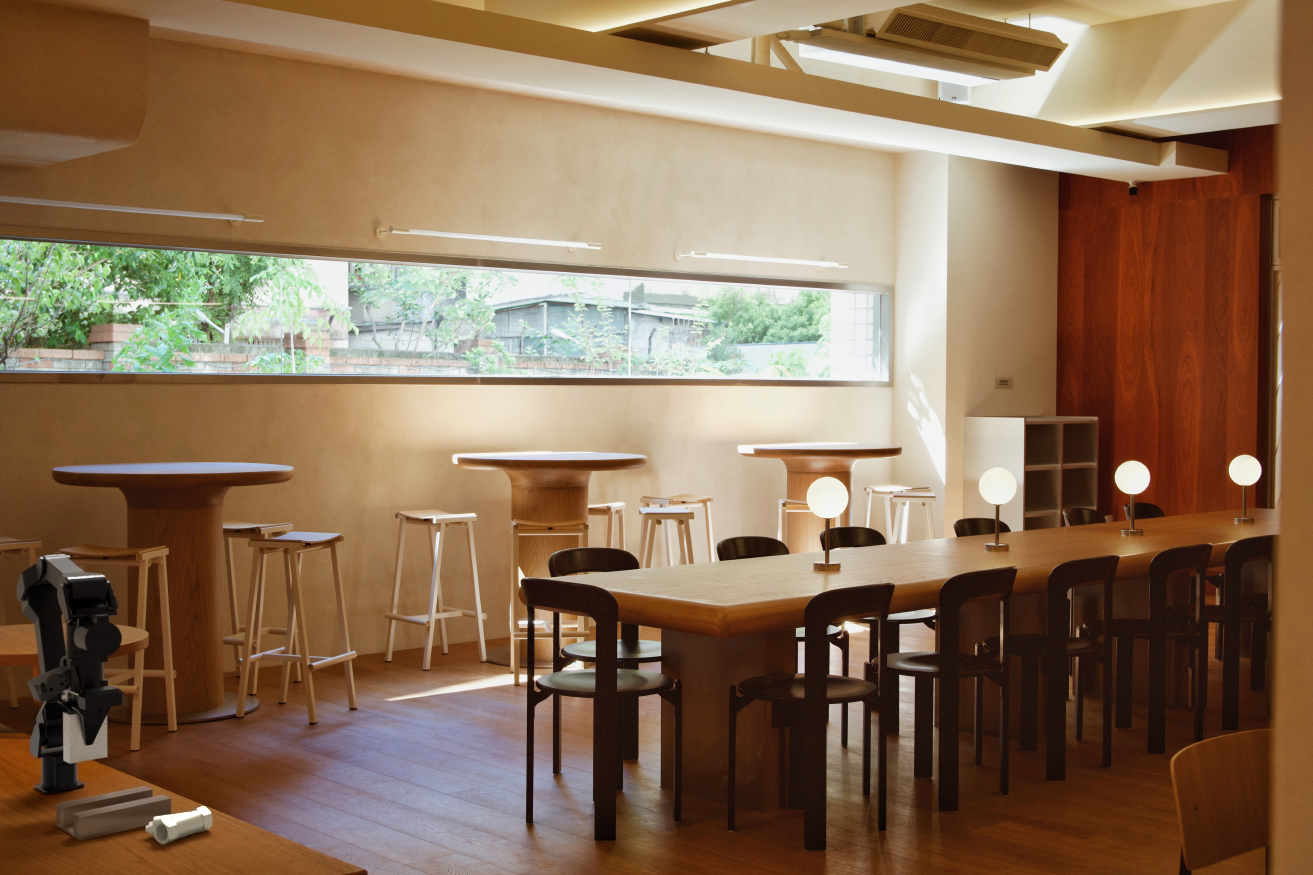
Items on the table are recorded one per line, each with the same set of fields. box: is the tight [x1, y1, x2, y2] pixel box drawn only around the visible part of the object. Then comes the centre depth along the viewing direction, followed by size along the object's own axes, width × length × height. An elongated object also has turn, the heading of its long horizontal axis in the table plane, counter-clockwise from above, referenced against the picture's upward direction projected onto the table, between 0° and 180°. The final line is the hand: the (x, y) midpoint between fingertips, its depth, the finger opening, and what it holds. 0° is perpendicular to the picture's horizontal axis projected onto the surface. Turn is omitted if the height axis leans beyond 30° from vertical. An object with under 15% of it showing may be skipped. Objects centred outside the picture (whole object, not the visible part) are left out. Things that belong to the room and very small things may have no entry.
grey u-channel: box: [56, 785, 172, 841], centre depth 194 cm, size 10×14×4 cm
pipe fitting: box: [145, 805, 213, 845], centre depth 187 cm, size 8×4×7 cm
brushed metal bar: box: [63, 711, 108, 764], centre depth 203 cm, size 3×6×8 cm, turn 135°
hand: (85, 743), depth 203 cm, fingers closed on brushed metal bar, 3 cm apart
